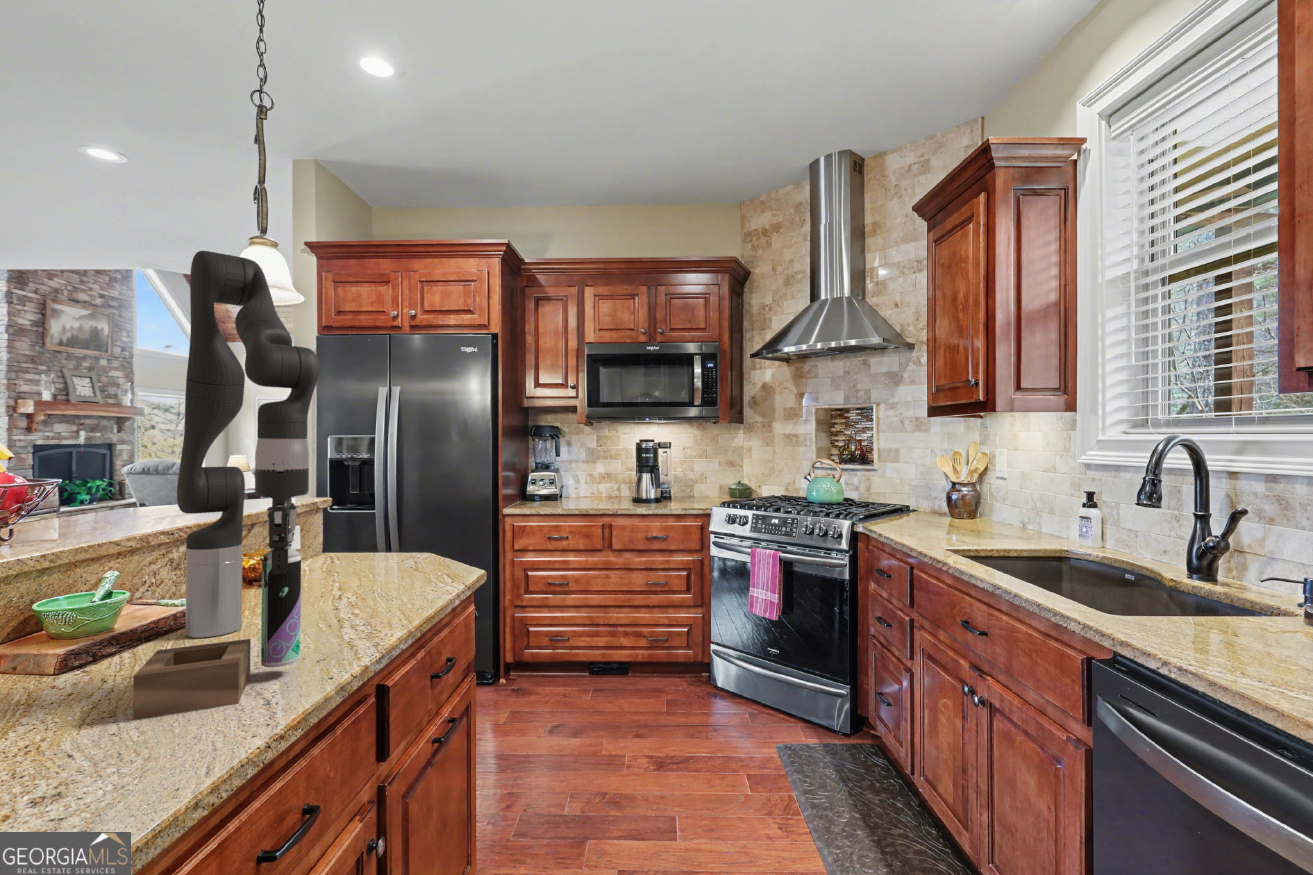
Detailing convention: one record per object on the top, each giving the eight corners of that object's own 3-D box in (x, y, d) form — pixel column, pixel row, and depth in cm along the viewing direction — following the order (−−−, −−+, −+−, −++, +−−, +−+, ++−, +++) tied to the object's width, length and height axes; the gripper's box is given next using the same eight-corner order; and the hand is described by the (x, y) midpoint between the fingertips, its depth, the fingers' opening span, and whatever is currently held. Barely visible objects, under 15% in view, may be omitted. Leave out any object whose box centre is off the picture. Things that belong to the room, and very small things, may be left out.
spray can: (281, 668, 97) (283, 542, 97) (252, 665, 98) (253, 540, 98) (308, 656, 102) (309, 536, 102) (280, 654, 103) (281, 535, 104)
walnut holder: (157, 689, 94) (157, 649, 94) (250, 675, 100) (250, 638, 100) (132, 720, 84) (133, 675, 84) (238, 703, 89) (238, 661, 89)
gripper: (261, 465, 105) (260, 564, 105) (248, 468, 92) (247, 581, 92) (311, 464, 109) (310, 560, 108) (306, 467, 96) (305, 576, 96)
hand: (281, 569), depth 100 cm, fingers closed on spray can, 5 cm apart
